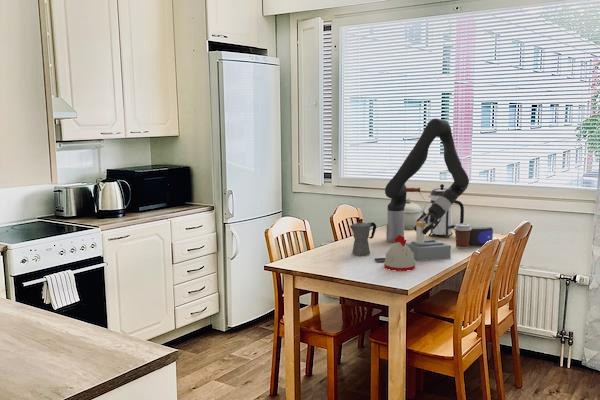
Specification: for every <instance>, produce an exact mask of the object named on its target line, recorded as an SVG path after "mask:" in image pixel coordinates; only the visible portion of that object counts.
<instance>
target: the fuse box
mask: <svg viewBox="0 0 600 400" xmlns="http://www.w3.org/2000/svg"><path fill="white" fill-rule="evenodd" d="M424 242H425V243H427V244H422V245H416V244H414V241H410V242H408V241H406V243H405V244H406V245H407V246H408V247H409V248H410V250H411V252H414V260H415V261H418V262H419V261H429V260H440V259H451V255H452V254H451V253H452V252H451V251H452V245H451V244H448V243H445V242H443V241H440V240H437V239H431V240H430V239H429V240H424Z"/></svg>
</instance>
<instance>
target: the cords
mask: <svg viewBox="0 0 600 400" xmlns="http://www.w3.org/2000/svg"><path fill="white" fill-rule="evenodd" d="M385 258H386V257H377V258H376V257H375V258H374V261H375V262H376V263H385Z"/></svg>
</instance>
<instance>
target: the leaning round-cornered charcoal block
mask: <svg viewBox="0 0 600 400" xmlns="http://www.w3.org/2000/svg"><path fill="white" fill-rule="evenodd" d="M471 228H472V230H471V231H470V239H469V246H470V247H483V246H482V245H484V244H485V243H486V242H487V241H489V240H492V241H493V238H494V237H493V233H494V229H493V227H491V226H487V227H486V226H485V227H483V226H482V227H471Z"/></svg>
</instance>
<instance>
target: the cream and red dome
mask: <svg viewBox="0 0 600 400" xmlns="http://www.w3.org/2000/svg"><path fill="white" fill-rule="evenodd" d="M406 242H407V240H406V239H405V236H404V237H402V236H400V235H398V237H396V239H395V242H394V243H393V244H392V245H391V246H390V247H389V248H388V251H387V252H385V257H384V258H385V262H383V264H384V266H383V267H384V269H386V268H387V269H386V270H388V269H390V270H389V271H392V270H396V271H395V272H408V271H407V270H410V271H414V270H415V269H416V260H415V259H414V252H411V250H410V248H409V247H408V246H407V245H406V244H405V243H406Z"/></svg>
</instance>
